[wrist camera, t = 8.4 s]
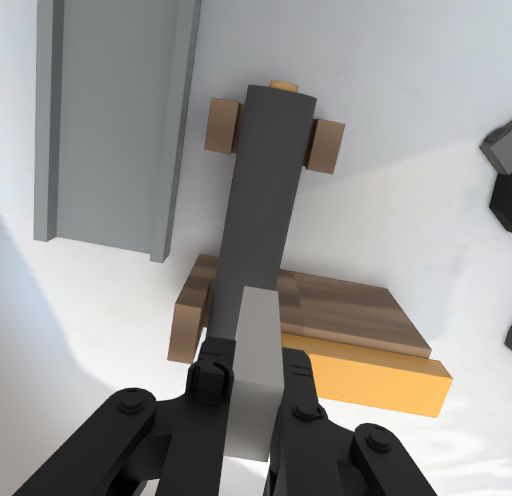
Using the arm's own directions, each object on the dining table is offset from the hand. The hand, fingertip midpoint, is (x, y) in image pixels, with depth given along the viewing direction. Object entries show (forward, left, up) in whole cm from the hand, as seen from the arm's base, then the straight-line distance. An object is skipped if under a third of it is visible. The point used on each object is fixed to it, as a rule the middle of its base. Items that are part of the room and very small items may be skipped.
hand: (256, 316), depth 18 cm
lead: (-1, -1, -11) cm, 11 cm away
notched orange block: (+5, +7, -6) cm, 10 cm away
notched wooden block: (+5, +3, -15) cm, 16 cm away
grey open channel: (-7, -12, -15) cm, 20 cm away
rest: (-7, -1, -15) cm, 17 cm away
